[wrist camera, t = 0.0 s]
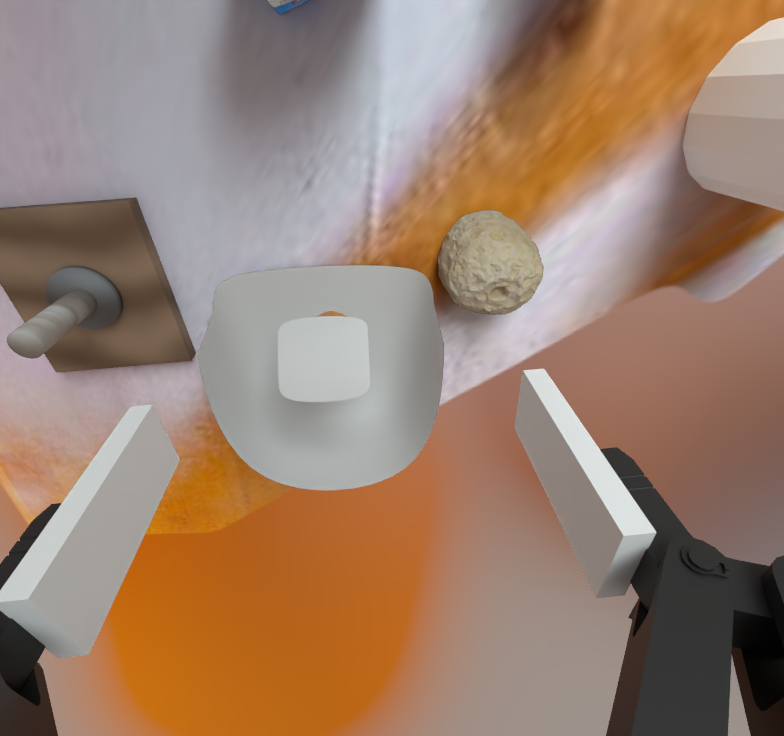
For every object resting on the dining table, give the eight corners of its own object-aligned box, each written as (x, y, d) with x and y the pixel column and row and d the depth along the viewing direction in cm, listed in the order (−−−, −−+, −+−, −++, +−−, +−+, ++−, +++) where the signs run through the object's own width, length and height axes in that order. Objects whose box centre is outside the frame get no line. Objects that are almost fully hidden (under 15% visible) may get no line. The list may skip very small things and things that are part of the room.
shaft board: (-30, 210, 35) (-154, 249, 27) (136, 197, 36) (66, 231, 27) (64, 364, 44) (-6, 431, 36) (195, 353, 45) (157, 416, 36)
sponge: (484, 283, 47) (564, 307, 41) (423, 315, 43) (501, 348, 36) (485, 198, 42) (576, 210, 35) (415, 225, 38) (505, 244, 31)
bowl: (259, 418, 51) (237, 496, 41) (222, 268, 40) (180, 326, 30) (420, 409, 52) (436, 483, 42) (426, 261, 41) (449, 314, 31)
